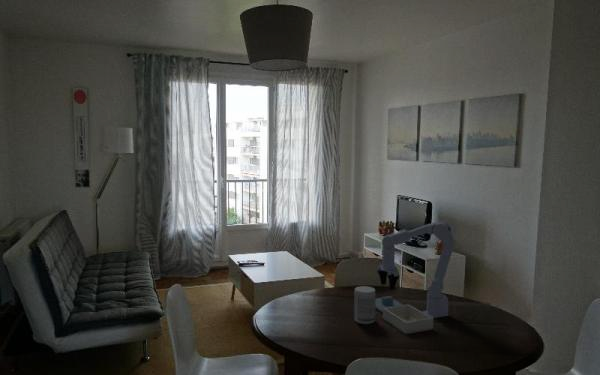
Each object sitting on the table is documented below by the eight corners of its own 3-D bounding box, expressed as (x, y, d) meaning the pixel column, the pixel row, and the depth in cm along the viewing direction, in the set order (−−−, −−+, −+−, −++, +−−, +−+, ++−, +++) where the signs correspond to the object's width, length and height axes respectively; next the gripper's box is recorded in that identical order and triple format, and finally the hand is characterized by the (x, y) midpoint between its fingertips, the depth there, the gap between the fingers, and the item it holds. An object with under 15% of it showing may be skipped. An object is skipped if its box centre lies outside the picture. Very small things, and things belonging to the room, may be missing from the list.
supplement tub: (379, 322, 203) (380, 290, 202) (363, 326, 198) (364, 294, 197) (365, 315, 211) (365, 284, 210) (349, 319, 206) (350, 288, 205)
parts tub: (408, 314, 212) (408, 304, 212) (432, 329, 196) (433, 318, 195) (382, 318, 207) (383, 308, 207) (405, 334, 191) (406, 322, 190)
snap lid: (389, 300, 233) (389, 290, 233) (410, 312, 216) (410, 301, 216) (365, 303, 228) (365, 293, 227) (384, 316, 211) (385, 305, 211)
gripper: (373, 256, 225) (372, 283, 226) (389, 263, 211) (389, 292, 213) (385, 255, 227) (384, 281, 229) (402, 262, 214) (401, 290, 215)
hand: (387, 286), depth 221 cm, fingers open, 7 cm apart
